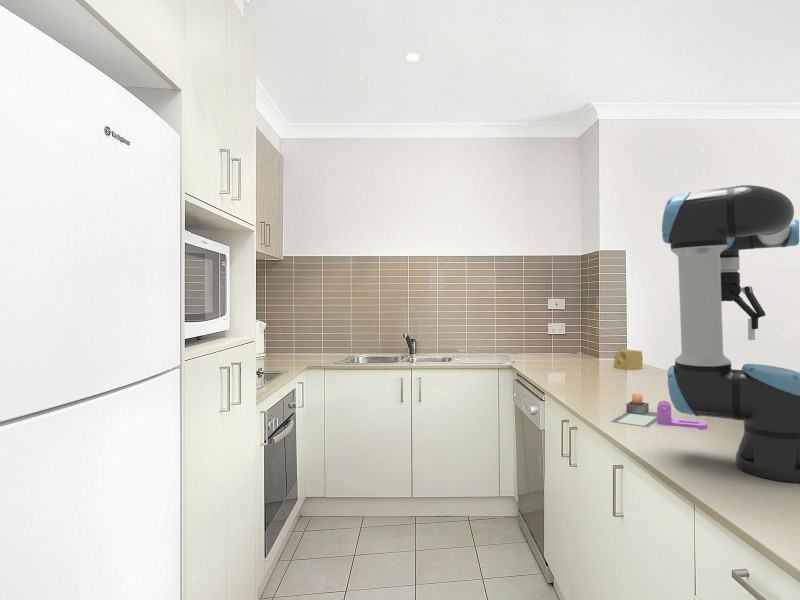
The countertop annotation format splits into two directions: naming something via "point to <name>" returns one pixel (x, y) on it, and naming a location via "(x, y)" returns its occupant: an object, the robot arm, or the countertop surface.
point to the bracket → (666, 419)
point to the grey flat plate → (637, 419)
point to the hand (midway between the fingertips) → (727, 339)
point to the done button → (637, 399)
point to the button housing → (637, 408)
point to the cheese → (628, 359)
